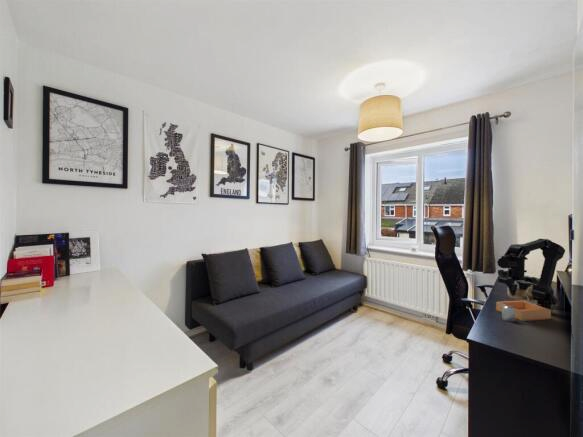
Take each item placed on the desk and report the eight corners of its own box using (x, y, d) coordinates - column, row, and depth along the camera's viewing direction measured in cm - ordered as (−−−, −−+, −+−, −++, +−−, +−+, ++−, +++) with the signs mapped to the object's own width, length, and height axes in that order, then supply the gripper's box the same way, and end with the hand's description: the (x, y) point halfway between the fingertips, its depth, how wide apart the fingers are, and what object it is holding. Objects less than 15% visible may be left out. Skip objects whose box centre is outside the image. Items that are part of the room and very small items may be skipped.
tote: (522, 308, 145) (523, 300, 145) (550, 319, 131) (550, 309, 131) (496, 310, 142) (496, 301, 142) (521, 320, 128) (522, 311, 128)
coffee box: (523, 301, 157) (524, 276, 157) (532, 301, 158) (533, 276, 157) (539, 306, 148) (539, 280, 148) (548, 306, 149) (549, 280, 148)
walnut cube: (515, 296, 139) (516, 287, 139) (525, 299, 134) (525, 290, 134) (508, 296, 138) (508, 287, 138) (517, 299, 133) (517, 290, 133)
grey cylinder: (506, 317, 133) (507, 304, 133) (517, 321, 128) (517, 308, 128) (499, 318, 132) (499, 305, 132) (509, 322, 127) (509, 308, 127)
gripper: (516, 264, 145) (516, 290, 145) (489, 264, 142) (488, 291, 143) (538, 268, 134) (537, 296, 134) (508, 269, 131) (507, 298, 132)
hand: (516, 295), depth 136 cm, fingers closed on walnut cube, 5 cm apart
